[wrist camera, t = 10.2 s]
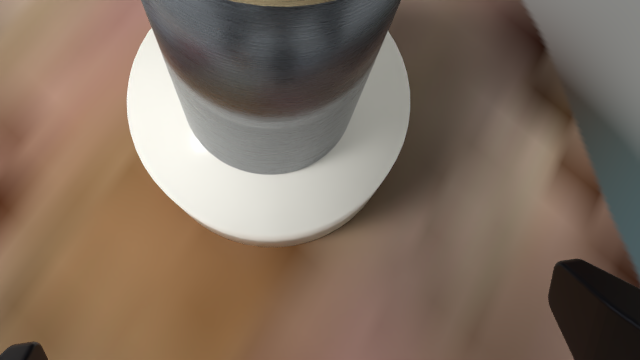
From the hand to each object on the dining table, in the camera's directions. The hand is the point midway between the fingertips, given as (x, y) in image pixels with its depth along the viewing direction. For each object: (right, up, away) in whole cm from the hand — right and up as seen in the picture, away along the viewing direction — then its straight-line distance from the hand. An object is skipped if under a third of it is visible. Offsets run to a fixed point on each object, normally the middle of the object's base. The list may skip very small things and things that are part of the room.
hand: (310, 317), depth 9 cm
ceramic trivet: (-2, +4, +14) cm, 15 cm away
